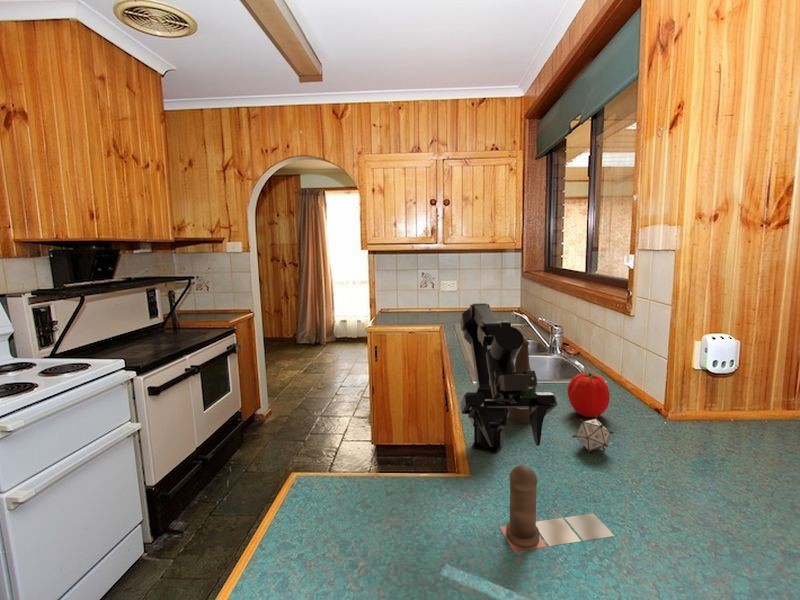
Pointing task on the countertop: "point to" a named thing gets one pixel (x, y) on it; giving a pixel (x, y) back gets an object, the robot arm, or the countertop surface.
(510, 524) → the pawn
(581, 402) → the tomato
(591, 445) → the game die
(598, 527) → the board
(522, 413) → the beer bottle
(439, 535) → the countertop surface
